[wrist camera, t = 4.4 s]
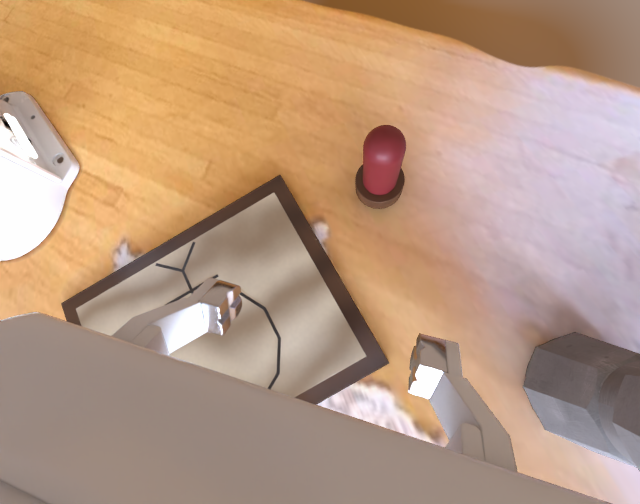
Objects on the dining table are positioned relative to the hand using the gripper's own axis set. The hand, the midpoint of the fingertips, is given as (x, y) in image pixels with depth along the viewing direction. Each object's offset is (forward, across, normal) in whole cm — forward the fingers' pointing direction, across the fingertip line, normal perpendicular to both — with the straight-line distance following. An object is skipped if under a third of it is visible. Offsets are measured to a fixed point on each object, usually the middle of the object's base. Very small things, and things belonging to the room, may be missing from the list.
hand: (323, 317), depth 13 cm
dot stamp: (+21, 0, +2) cm, 21 cm away
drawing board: (+8, +13, +15) cm, 21 cm away
